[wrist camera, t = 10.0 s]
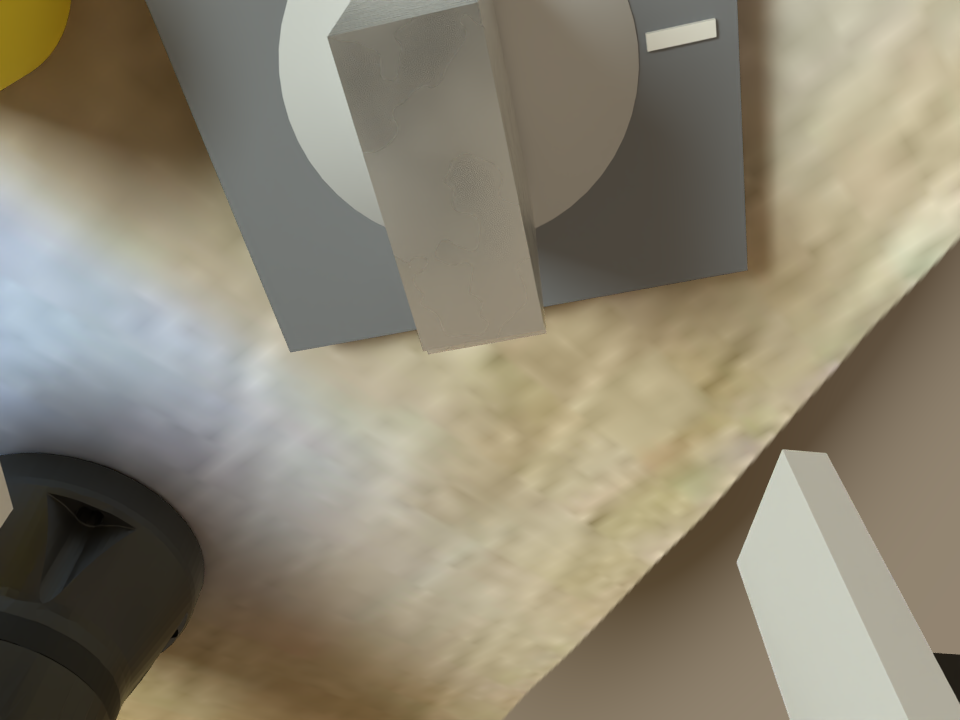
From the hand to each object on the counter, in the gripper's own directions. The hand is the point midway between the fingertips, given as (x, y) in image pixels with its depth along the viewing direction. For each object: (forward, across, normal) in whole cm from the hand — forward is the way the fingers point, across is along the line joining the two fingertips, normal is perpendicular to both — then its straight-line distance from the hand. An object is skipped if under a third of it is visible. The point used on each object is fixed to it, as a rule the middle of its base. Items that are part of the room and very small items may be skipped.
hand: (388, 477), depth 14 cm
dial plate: (+23, +1, +1) cm, 23 cm away
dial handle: (+20, +1, +1) cm, 20 cm away
